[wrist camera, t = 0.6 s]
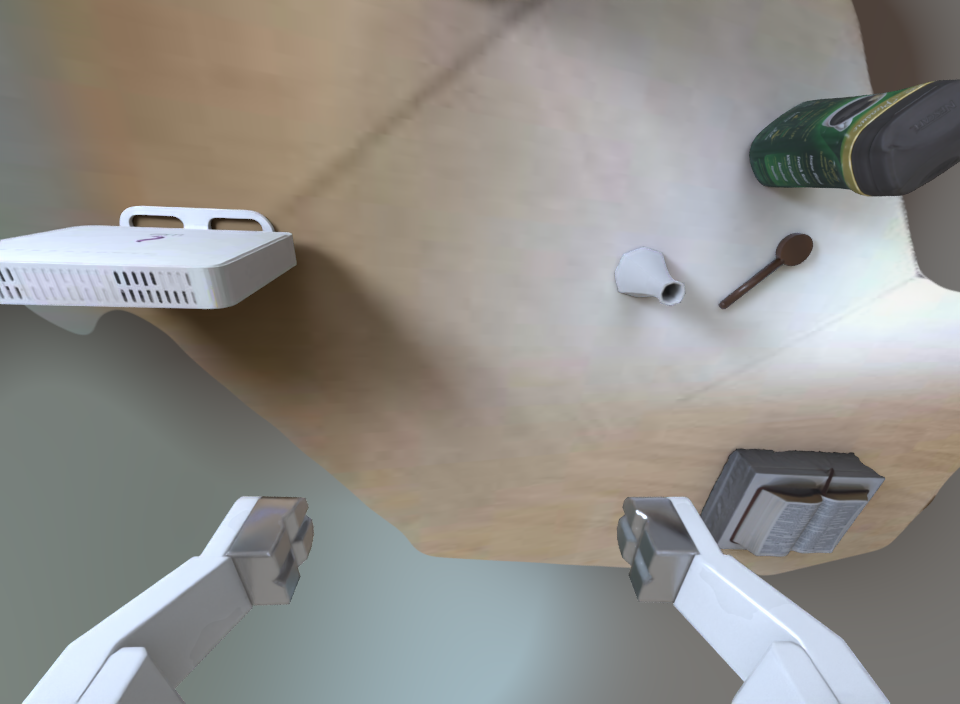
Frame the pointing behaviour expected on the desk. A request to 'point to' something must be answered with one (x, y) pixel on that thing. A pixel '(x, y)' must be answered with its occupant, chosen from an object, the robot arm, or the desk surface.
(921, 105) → the coffee jar
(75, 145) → the desk surface
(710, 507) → the bible
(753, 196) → the desk surface
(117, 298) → the network device
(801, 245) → the wooden spoon
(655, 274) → the flask
